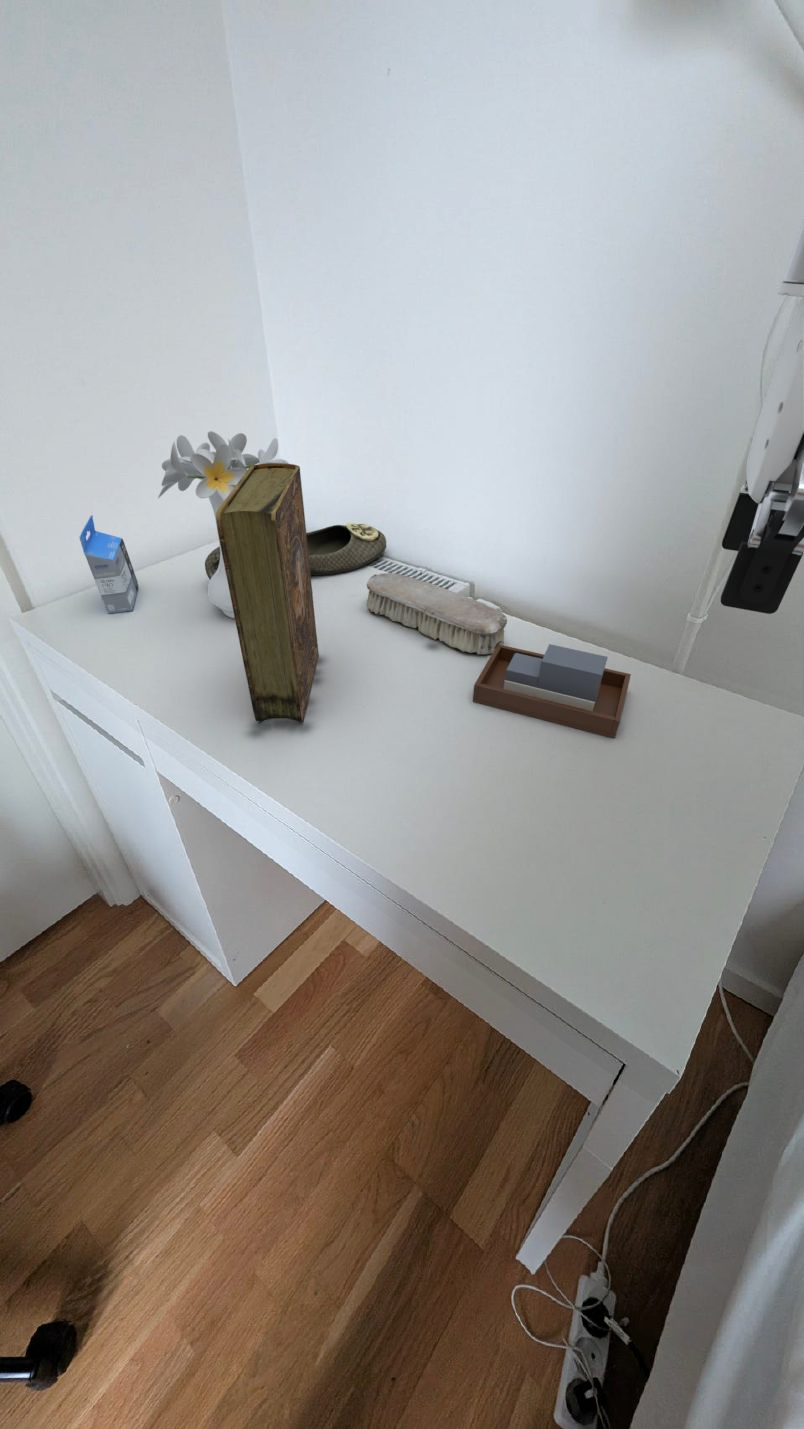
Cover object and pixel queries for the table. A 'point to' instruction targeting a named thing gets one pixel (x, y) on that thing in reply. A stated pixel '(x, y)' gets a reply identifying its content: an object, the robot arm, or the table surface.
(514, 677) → the grey stepped block
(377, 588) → the shoe brush
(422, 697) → the table surface
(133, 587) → the label tape box
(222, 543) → the book
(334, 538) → the flat
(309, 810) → the table surface
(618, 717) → the tray
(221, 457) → the flower vase
